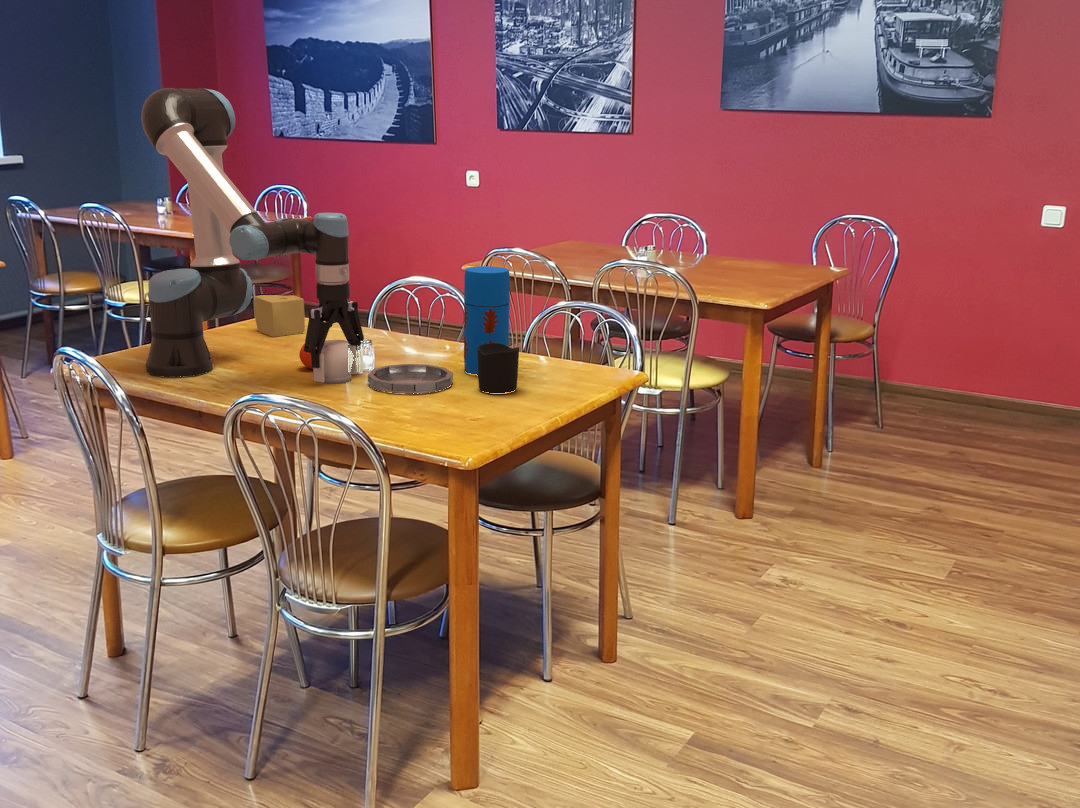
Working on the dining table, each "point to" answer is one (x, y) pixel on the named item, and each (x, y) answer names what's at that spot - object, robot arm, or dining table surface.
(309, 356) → the clementine
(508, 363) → the pen holder
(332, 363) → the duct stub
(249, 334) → the dining table surface
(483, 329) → the thermos
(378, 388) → the round tray
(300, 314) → the cheese
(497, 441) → the dining table surface
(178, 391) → the dining table surface
